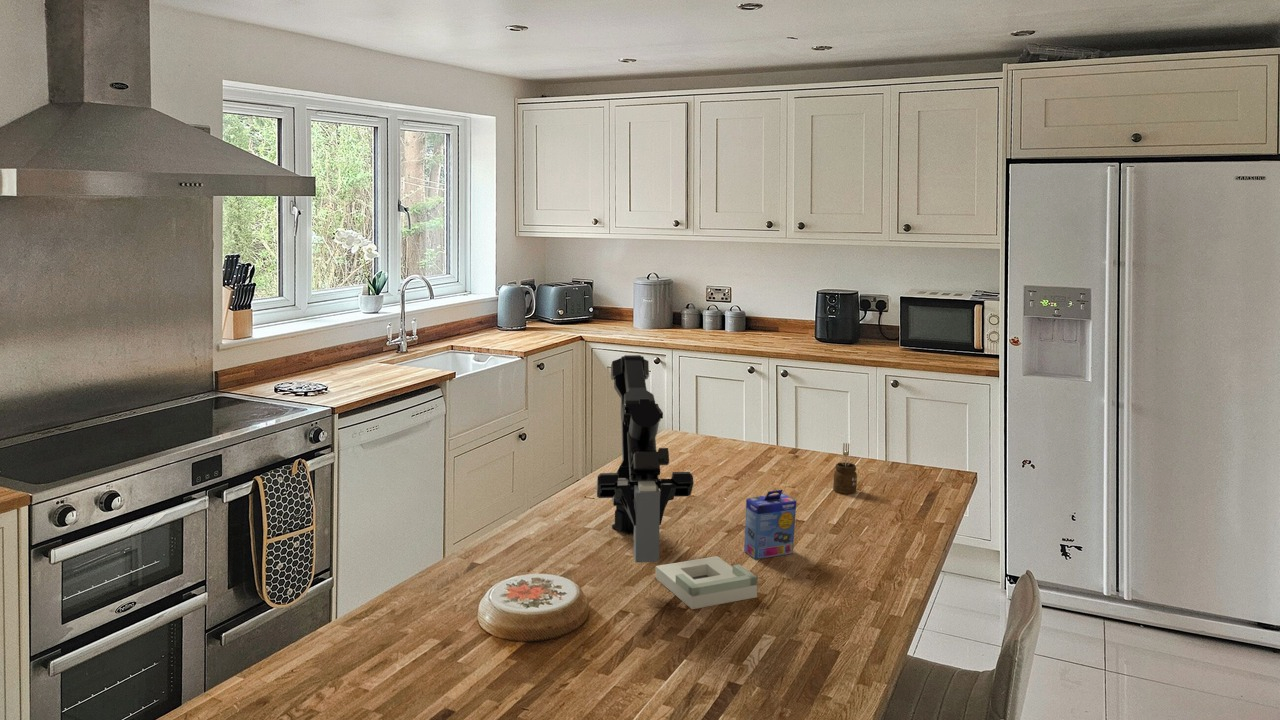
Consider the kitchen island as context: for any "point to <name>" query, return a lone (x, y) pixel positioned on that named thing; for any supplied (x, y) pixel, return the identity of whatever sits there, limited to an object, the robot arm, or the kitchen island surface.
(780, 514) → the ink cartridge box
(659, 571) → the socket box
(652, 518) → the plug
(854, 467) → the utensil holder
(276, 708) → the kitchen island surface
